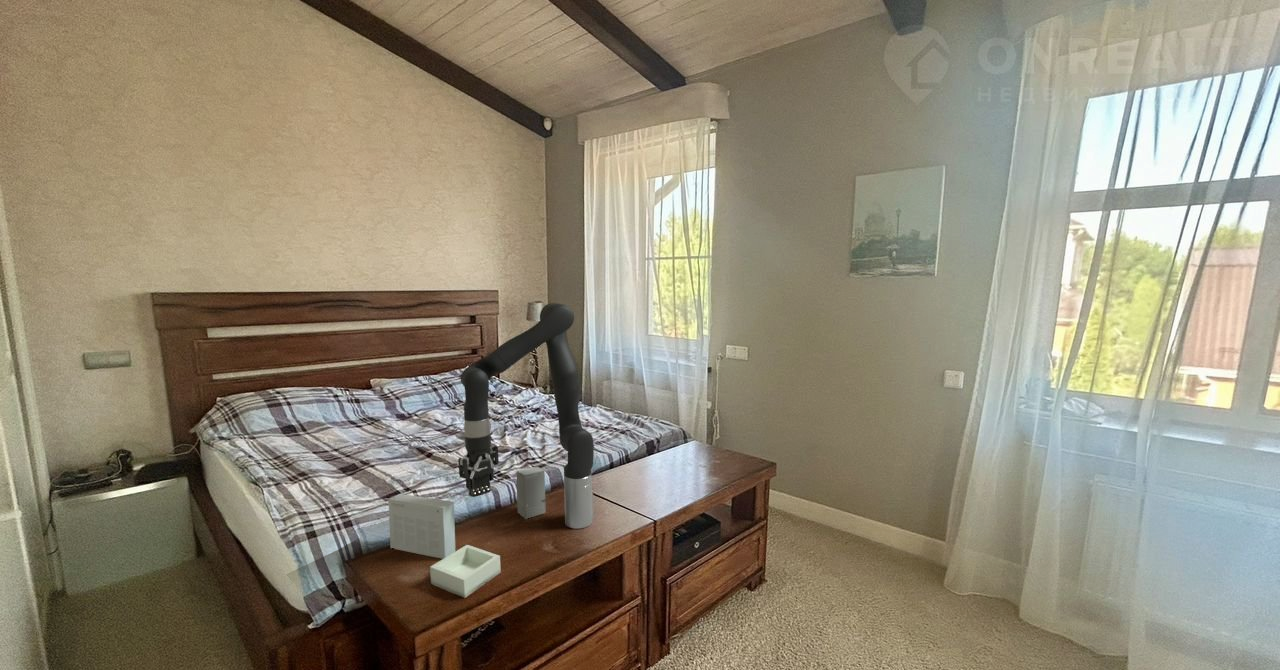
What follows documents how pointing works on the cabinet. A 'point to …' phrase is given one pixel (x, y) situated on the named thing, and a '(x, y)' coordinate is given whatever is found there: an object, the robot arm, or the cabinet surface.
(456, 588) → the bin
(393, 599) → the cabinet surface
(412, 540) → the skincare box
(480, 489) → the battery charger
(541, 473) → the skincare box
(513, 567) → the cabinet surface
